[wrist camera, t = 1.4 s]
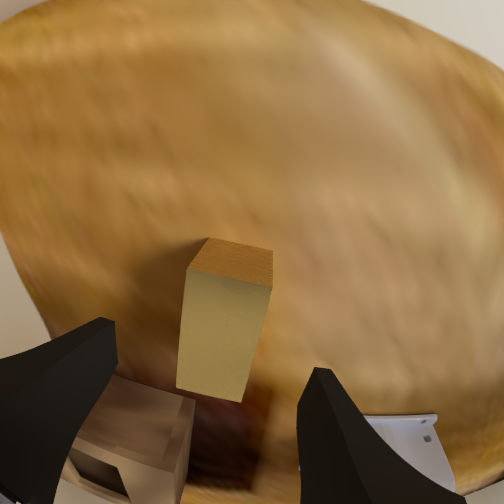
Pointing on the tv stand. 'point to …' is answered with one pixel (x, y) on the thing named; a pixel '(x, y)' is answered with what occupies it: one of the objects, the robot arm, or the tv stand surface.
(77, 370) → the robot arm
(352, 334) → the tv stand surface
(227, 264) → the block
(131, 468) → the box
